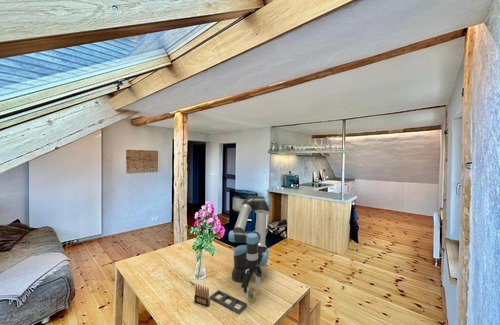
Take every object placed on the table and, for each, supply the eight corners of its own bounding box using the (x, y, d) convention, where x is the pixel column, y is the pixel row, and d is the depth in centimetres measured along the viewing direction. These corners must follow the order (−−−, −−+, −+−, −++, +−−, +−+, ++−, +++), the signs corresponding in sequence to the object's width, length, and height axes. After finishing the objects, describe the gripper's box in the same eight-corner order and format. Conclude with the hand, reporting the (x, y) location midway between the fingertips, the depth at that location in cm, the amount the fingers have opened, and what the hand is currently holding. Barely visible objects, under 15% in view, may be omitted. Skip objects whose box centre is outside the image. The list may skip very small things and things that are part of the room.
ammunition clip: (210, 305, 127) (209, 286, 127) (208, 307, 125) (208, 288, 125) (196, 300, 131) (195, 282, 131) (194, 302, 129) (194, 284, 129)
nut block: (251, 298, 133) (251, 287, 133) (256, 300, 131) (256, 289, 131) (248, 301, 130) (248, 290, 130) (253, 304, 128) (253, 293, 128)
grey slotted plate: (218, 292, 139) (218, 289, 139) (247, 306, 125) (247, 303, 125) (210, 299, 132) (210, 296, 132) (239, 314, 119) (239, 311, 119)
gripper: (257, 250, 143) (257, 280, 142) (235, 264, 122) (235, 300, 122) (266, 252, 138) (266, 284, 138) (245, 268, 118) (245, 305, 117)
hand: (252, 291), depth 130 cm, fingers open, 13 cm apart
